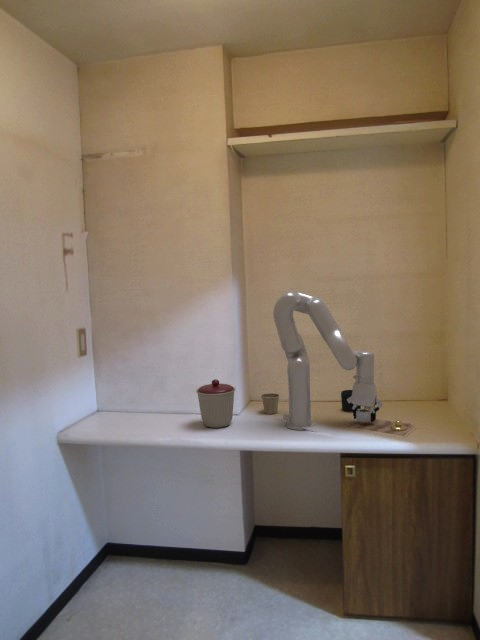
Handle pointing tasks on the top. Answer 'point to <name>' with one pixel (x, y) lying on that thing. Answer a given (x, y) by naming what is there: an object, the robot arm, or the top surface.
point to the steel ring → (363, 415)
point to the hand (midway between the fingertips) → (364, 419)
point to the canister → (216, 404)
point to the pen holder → (345, 404)
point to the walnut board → (382, 427)
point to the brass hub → (398, 426)
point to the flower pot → (270, 402)
